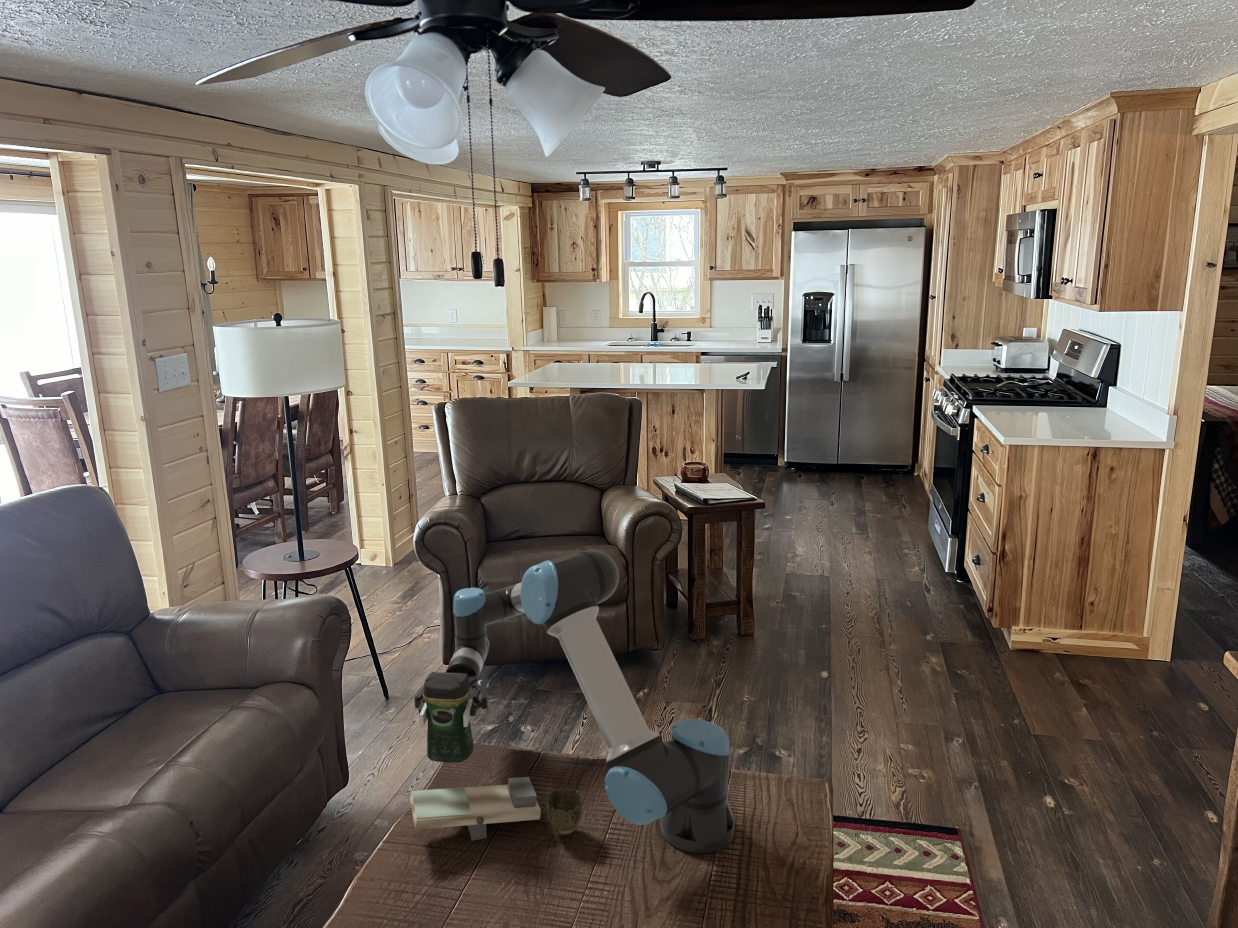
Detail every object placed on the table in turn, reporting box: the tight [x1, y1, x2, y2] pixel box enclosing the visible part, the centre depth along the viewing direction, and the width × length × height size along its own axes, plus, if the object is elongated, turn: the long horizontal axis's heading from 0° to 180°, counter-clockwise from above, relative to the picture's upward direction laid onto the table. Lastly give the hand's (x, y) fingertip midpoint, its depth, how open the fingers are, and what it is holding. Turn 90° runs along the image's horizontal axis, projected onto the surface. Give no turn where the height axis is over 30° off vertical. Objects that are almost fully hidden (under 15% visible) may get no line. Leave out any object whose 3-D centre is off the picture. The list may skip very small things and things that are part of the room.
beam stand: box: [466, 824, 487, 842], centre depth 176 cm, size 7×3×4 cm, turn 19°
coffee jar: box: [423, 671, 474, 764], centre depth 183 cm, size 10×8×19 cm
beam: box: [409, 776, 542, 830], centre depth 175 cm, size 11×25×4 cm, turn 109°
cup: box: [546, 787, 584, 837], centre depth 175 cm, size 8×7×8 cm
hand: (443, 720), depth 178 cm, fingers closed on coffee jar, 8 cm apart
